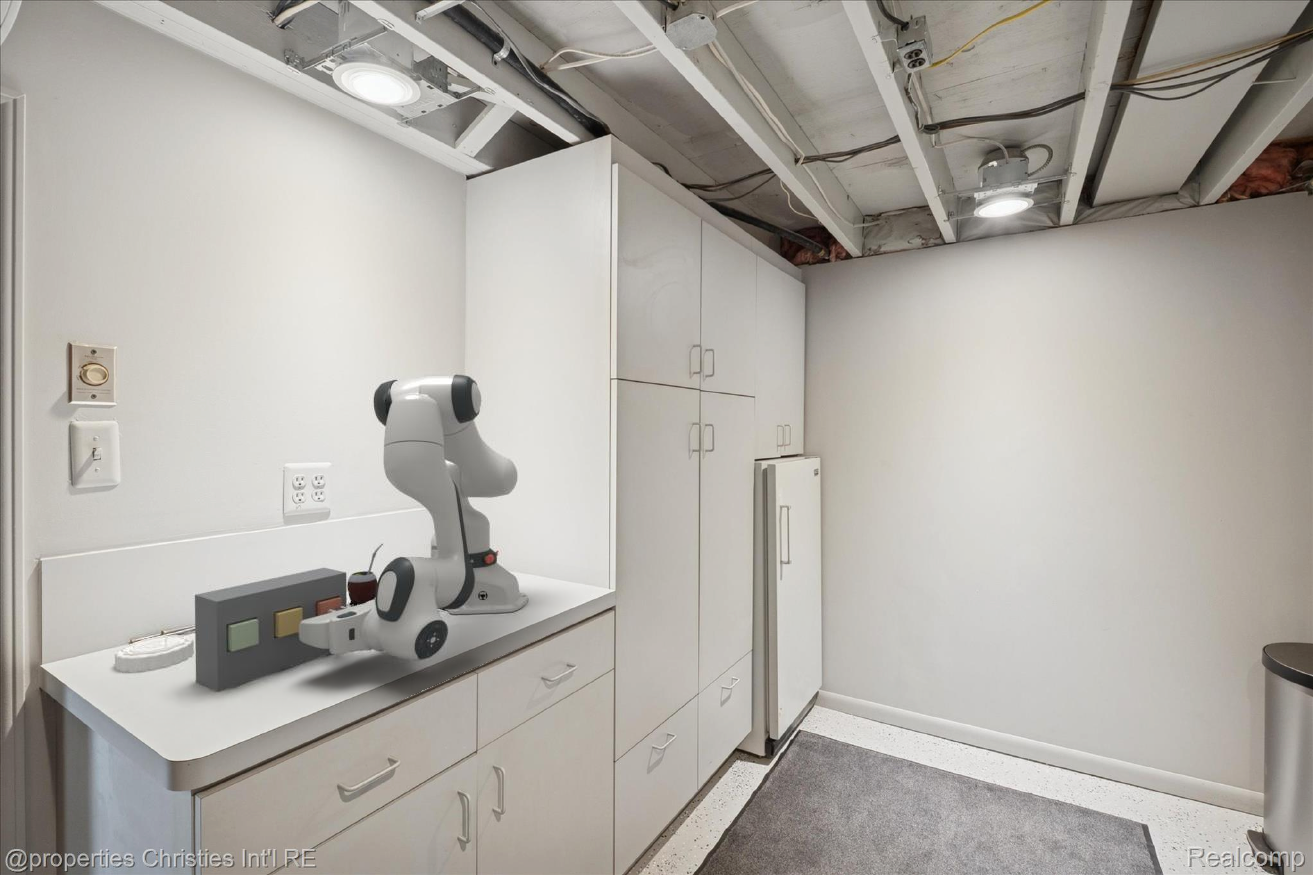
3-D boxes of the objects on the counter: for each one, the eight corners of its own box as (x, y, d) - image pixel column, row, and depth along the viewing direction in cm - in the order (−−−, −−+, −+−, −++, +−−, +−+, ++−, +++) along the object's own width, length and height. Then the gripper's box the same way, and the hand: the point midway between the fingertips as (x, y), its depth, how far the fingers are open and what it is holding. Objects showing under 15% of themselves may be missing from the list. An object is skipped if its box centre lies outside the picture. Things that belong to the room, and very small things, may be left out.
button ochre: (302, 630, 117) (302, 608, 117) (279, 637, 113) (278, 614, 113) (293, 627, 119) (293, 605, 119) (270, 634, 115) (270, 611, 115)
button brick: (341, 619, 124) (341, 598, 124) (320, 625, 120) (320, 603, 120) (333, 616, 126) (332, 595, 125) (312, 622, 122) (311, 601, 122)
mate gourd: (343, 608, 153) (342, 550, 152) (354, 599, 161) (354, 543, 160) (373, 607, 154) (373, 549, 153) (383, 598, 162) (383, 543, 161)
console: (346, 647, 126) (346, 572, 126) (217, 691, 106) (216, 601, 105) (324, 640, 130) (324, 567, 130) (195, 681, 110) (194, 594, 109)
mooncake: (117, 659, 120) (116, 641, 120) (192, 645, 128) (192, 628, 128) (112, 679, 111) (112, 660, 111) (194, 663, 118) (194, 645, 118)
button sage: (258, 643, 110) (258, 619, 110) (231, 651, 106) (231, 626, 106) (250, 640, 112) (249, 617, 112) (223, 648, 108) (223, 623, 108)
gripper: (422, 594, 123) (380, 584, 130) (325, 622, 106) (282, 609, 113) (422, 624, 123) (380, 613, 130) (325, 657, 106) (282, 642, 113)
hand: (334, 612), depth 121 cm, fingers closed
